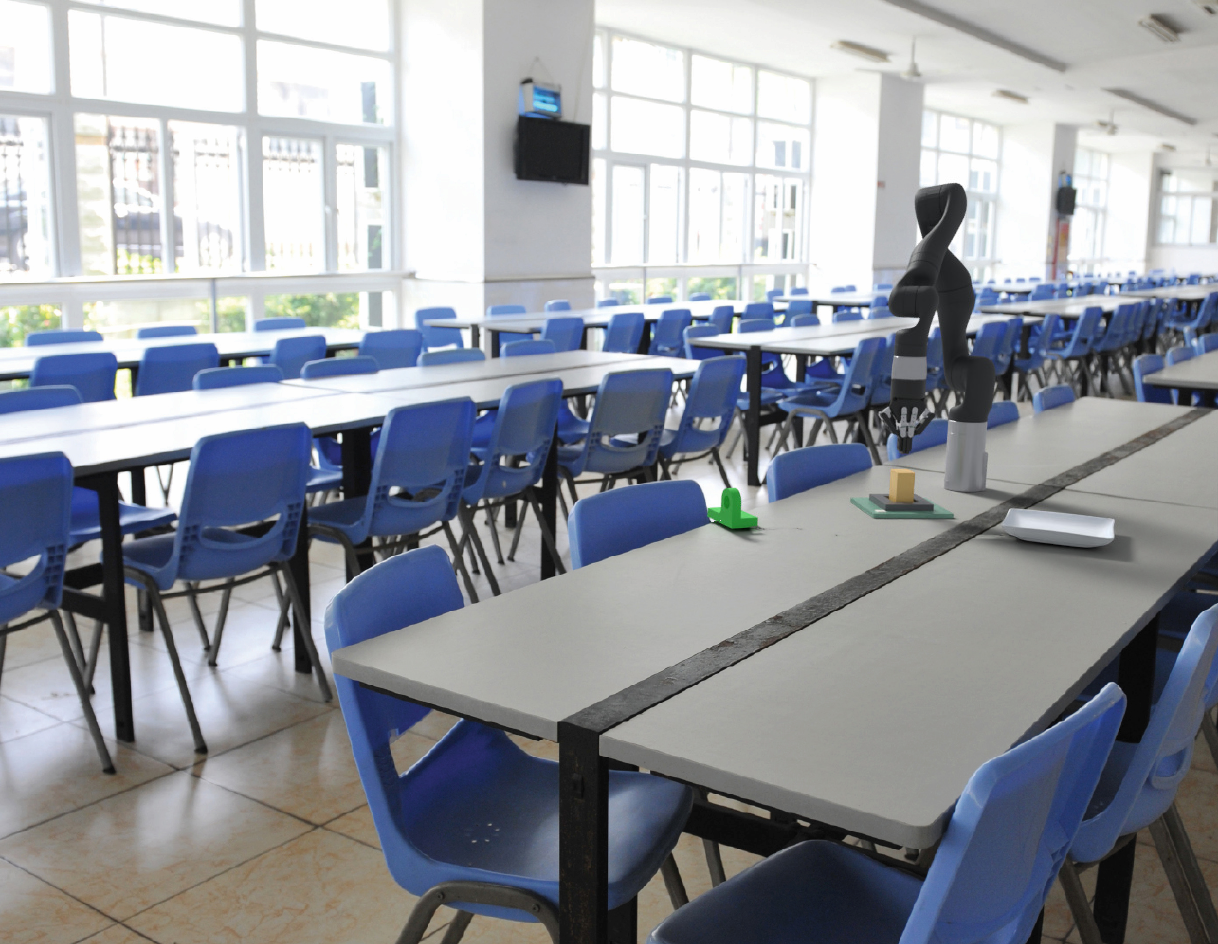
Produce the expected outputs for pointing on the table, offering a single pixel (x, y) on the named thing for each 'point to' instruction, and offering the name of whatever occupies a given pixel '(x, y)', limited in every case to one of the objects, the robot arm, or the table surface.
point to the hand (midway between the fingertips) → (903, 453)
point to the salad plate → (1059, 528)
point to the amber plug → (901, 485)
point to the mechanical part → (732, 511)
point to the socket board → (900, 514)
